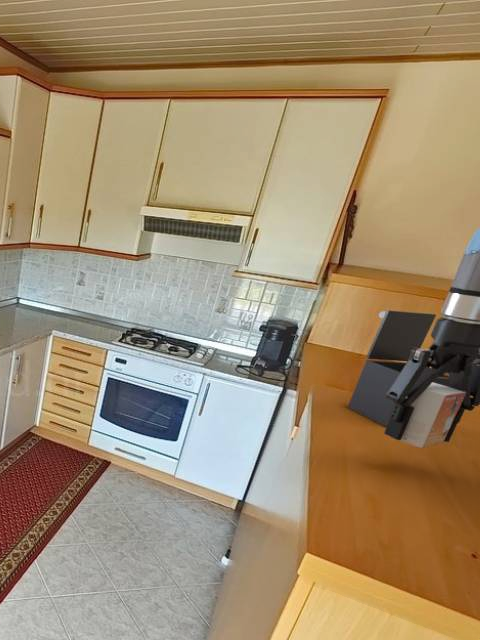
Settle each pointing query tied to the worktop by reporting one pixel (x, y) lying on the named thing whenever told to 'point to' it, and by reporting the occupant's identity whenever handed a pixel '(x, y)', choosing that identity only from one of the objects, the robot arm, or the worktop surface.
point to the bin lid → (399, 334)
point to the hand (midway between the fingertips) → (416, 437)
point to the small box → (432, 415)
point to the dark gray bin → (379, 389)
